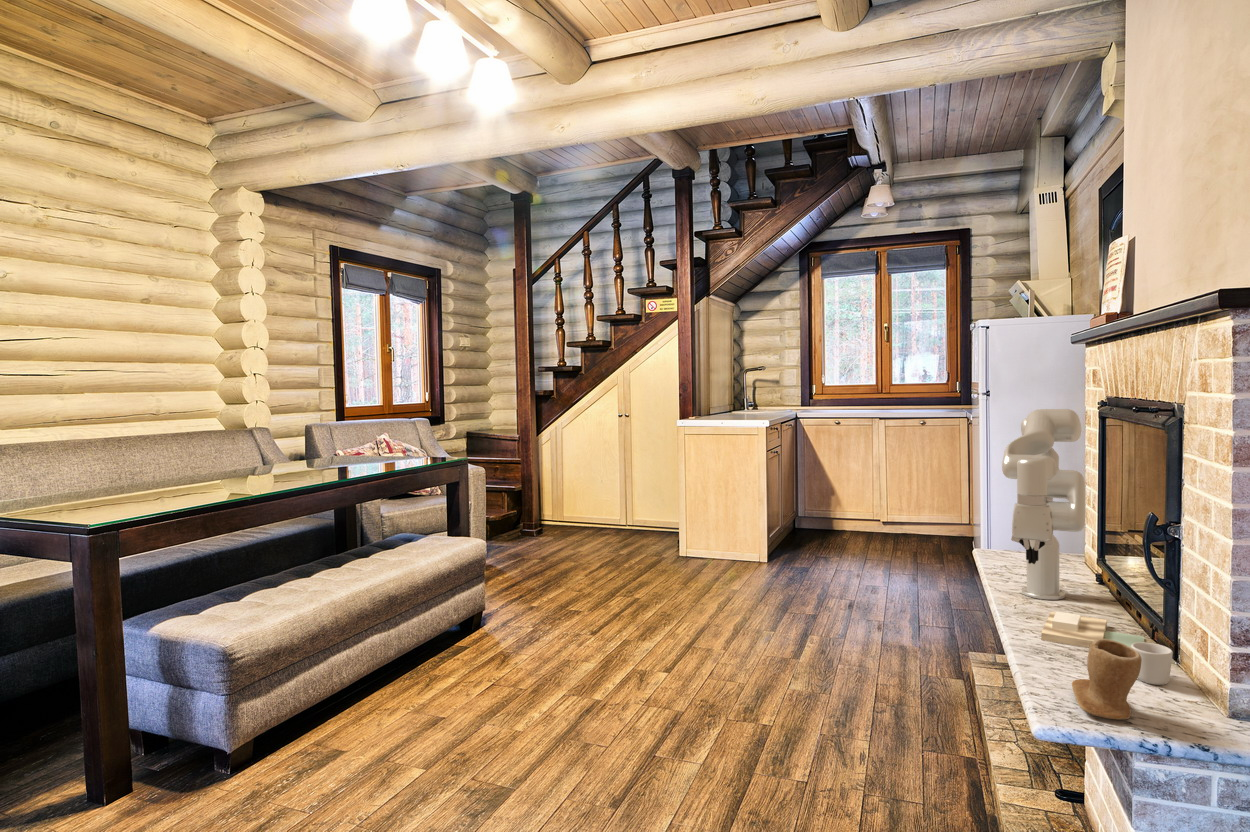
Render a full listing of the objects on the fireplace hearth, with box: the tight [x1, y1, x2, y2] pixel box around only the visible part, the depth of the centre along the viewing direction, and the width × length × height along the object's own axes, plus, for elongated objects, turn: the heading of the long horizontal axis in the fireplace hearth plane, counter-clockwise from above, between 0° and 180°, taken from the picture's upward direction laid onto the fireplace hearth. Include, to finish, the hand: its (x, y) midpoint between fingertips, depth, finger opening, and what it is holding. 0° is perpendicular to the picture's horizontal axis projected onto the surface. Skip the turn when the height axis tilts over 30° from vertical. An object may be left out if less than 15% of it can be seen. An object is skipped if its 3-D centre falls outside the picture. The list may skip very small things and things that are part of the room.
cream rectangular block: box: [1052, 611, 1082, 632], centre depth 203 cm, size 10×6×2 cm, turn 143°
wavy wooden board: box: [1040, 611, 1108, 649], centre depth 202 cm, size 22×14×2 cm, turn 143°
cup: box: [1131, 641, 1174, 686], centre depth 170 cm, size 11×8×8 cm
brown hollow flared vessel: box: [1071, 639, 1142, 721], centre depth 156 cm, size 15×12×15 cm
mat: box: [1104, 630, 1145, 647], centre depth 192 cm, size 18×9×1 cm, turn 143°
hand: (1032, 562), depth 207 cm, fingers closed
